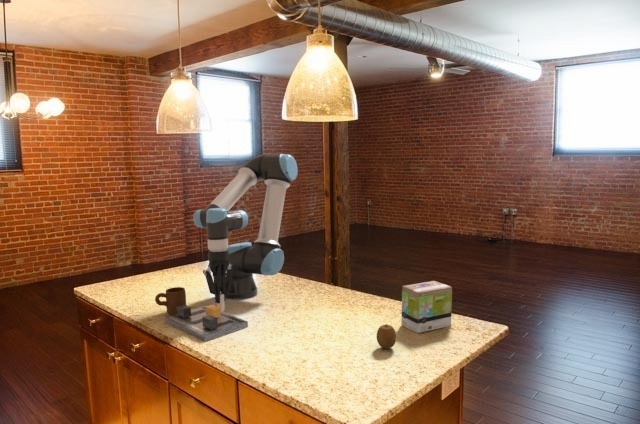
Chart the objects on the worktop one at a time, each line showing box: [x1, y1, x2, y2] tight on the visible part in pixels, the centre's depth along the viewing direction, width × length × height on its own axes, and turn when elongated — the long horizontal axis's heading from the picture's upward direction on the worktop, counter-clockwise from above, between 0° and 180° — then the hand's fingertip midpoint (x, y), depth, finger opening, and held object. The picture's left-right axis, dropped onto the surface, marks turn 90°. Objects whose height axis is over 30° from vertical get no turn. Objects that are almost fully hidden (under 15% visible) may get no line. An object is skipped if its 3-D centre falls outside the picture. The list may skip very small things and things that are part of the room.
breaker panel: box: [163, 304, 249, 343], centre depth 174 cm, size 18×28×6 cm, turn 46°
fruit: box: [376, 323, 397, 350], centre depth 149 cm, size 6×6×8 cm
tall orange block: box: [205, 304, 221, 318], centre depth 177 cm, size 3×5×4 cm, turn 46°
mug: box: [154, 286, 187, 316], centre depth 187 cm, size 12×8×9 cm, turn 128°
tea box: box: [400, 280, 453, 334], centre depth 167 cm, size 15×10×15 cm, turn 117°
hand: (221, 310), depth 179 cm, fingers closed
